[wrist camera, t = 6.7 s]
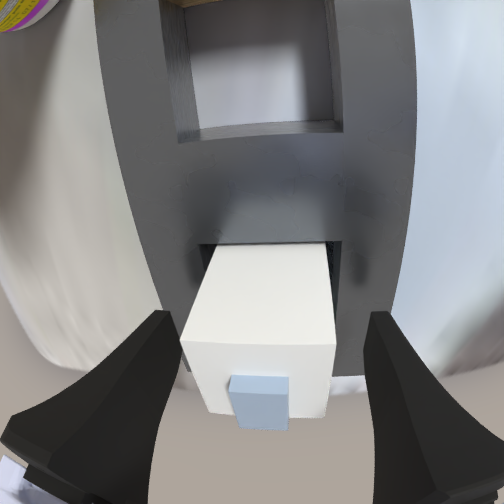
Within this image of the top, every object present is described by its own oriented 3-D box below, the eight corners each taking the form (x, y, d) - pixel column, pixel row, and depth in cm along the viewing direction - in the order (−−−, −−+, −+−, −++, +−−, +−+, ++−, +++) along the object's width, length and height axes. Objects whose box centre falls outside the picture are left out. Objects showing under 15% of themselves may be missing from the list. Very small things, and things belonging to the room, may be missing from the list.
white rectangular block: (320, 215, 13) (337, 363, 7) (319, 289, 15) (324, 432, 9) (228, 218, 14) (172, 357, 7) (239, 289, 16) (205, 426, 10)
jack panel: (374, -62, 6) (391, -86, 4) (367, 339, 17) (373, 374, 15) (123, -32, 8) (91, -45, 6) (198, 338, 18) (187, 371, 16)
